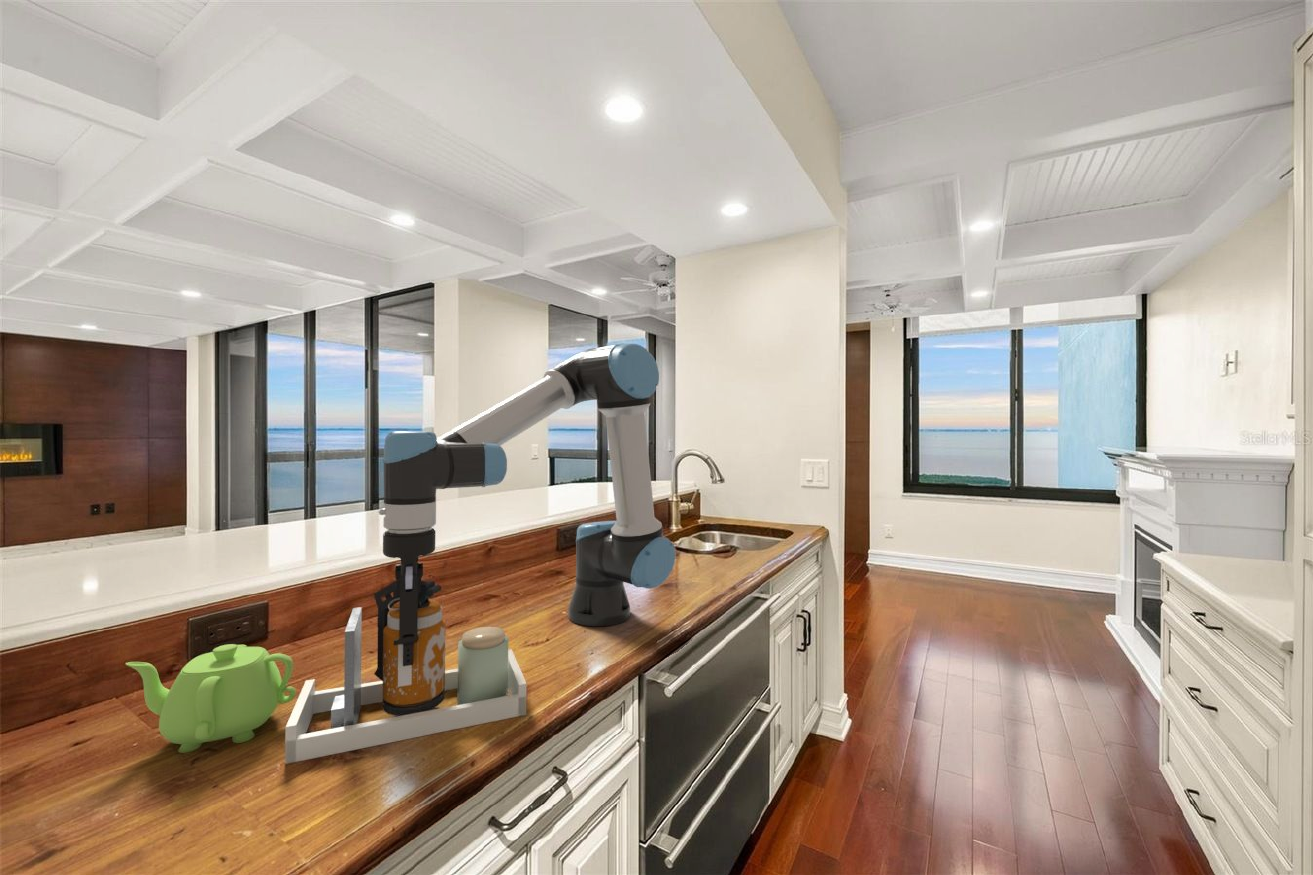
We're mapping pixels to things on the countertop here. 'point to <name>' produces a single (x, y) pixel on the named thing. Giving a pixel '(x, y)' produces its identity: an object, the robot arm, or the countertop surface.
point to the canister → (425, 655)
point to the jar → (482, 665)
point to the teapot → (218, 695)
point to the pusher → (350, 676)
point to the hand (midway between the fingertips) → (408, 671)
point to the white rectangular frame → (396, 727)
